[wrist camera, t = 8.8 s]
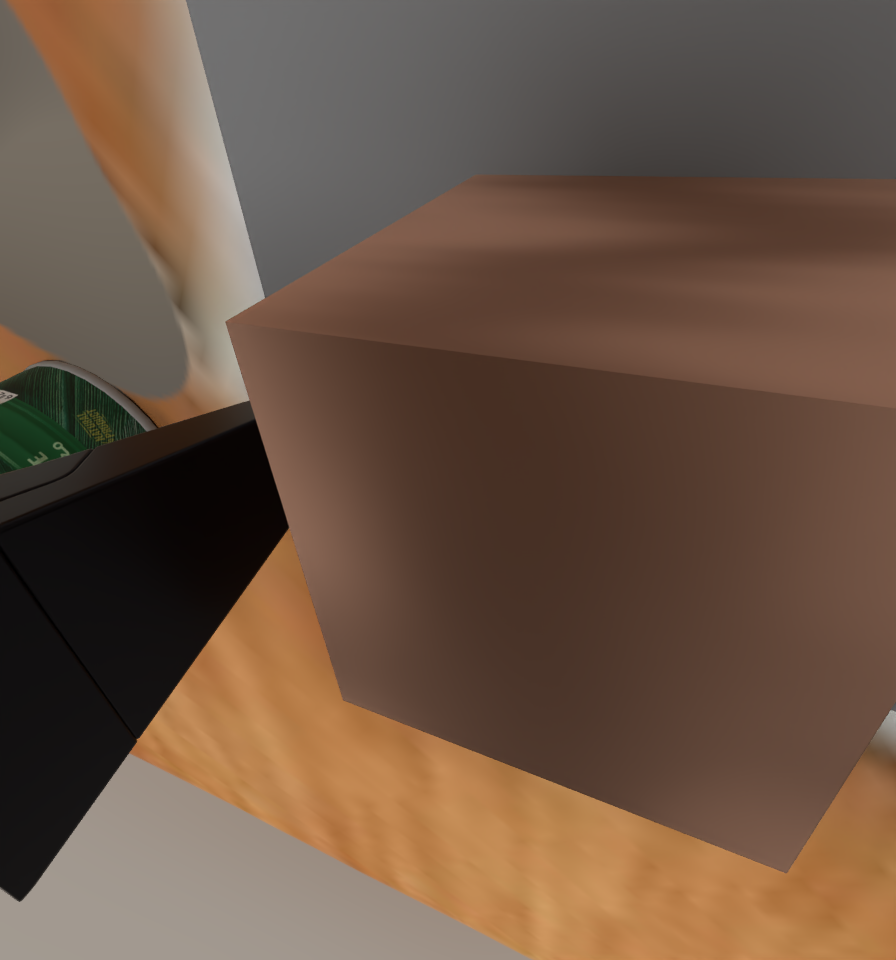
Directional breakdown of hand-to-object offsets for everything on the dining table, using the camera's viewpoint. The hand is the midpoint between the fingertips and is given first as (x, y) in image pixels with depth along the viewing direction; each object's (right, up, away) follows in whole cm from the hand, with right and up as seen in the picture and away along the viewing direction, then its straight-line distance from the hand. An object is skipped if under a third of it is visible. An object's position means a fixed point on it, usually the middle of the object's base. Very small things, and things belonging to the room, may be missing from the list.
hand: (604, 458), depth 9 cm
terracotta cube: (+1, +2, +2) cm, 3 cm away
